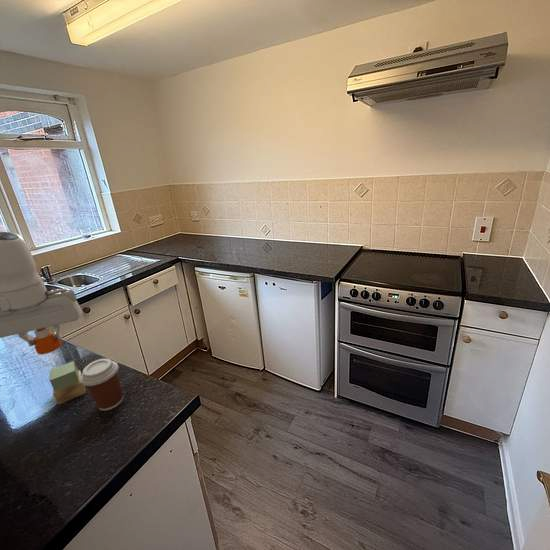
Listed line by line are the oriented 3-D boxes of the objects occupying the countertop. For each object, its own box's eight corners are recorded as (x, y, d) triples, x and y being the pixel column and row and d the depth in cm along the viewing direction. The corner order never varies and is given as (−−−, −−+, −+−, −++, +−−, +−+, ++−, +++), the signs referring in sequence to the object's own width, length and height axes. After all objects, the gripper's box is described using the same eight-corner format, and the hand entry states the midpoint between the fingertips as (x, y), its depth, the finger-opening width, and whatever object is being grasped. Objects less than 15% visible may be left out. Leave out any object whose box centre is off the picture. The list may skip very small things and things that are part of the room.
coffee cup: (121, 411, 79) (107, 375, 75) (86, 416, 79) (70, 380, 74) (133, 387, 87) (121, 353, 83) (102, 392, 87) (88, 358, 83)
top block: (54, 392, 83) (49, 380, 82) (55, 380, 88) (49, 369, 86) (79, 381, 86) (74, 370, 85) (78, 371, 91) (73, 360, 89)
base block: (58, 404, 84) (52, 393, 83) (58, 391, 89) (53, 380, 88) (86, 392, 88) (81, 382, 86) (84, 380, 93) (80, 370, 92)
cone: (33, 356, 78) (22, 333, 75) (41, 345, 83) (31, 323, 80) (58, 350, 80) (47, 327, 77) (64, 340, 85) (54, 318, 82)
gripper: (75, 282, 81) (91, 326, 86) (-16, 300, 76) (7, 346, 81) (68, 290, 76) (86, 336, 81) (-30, 310, 70) (-4, 359, 75)
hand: (46, 341), depth 81 cm, fingers closed on cone, 4 cm apart
